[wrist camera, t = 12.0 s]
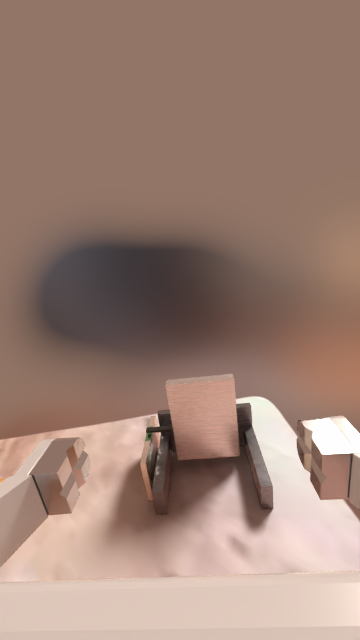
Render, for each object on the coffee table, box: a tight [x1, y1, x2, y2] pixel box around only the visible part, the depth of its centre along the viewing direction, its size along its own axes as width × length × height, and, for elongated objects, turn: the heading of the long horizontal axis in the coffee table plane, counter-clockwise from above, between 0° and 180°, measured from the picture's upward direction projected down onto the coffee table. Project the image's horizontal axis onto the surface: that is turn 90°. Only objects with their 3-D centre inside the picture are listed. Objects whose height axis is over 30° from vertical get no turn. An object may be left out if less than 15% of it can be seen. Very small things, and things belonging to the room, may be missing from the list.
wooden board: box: [146, 374, 240, 460], centre depth 38 cm, size 14×2×14 cm, turn 88°
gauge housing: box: [140, 403, 273, 514], centre depth 38 cm, size 18×12×8 cm
